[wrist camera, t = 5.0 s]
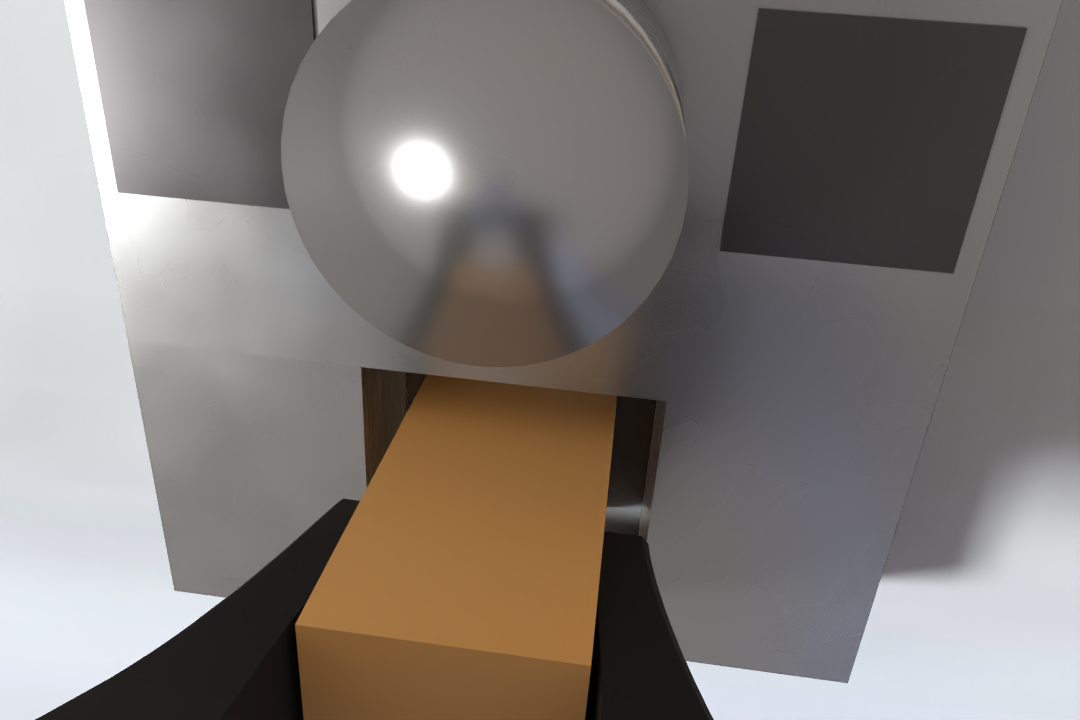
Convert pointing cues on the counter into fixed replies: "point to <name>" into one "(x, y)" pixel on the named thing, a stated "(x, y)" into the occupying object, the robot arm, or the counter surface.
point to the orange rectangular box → (467, 563)
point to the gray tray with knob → (560, 260)
